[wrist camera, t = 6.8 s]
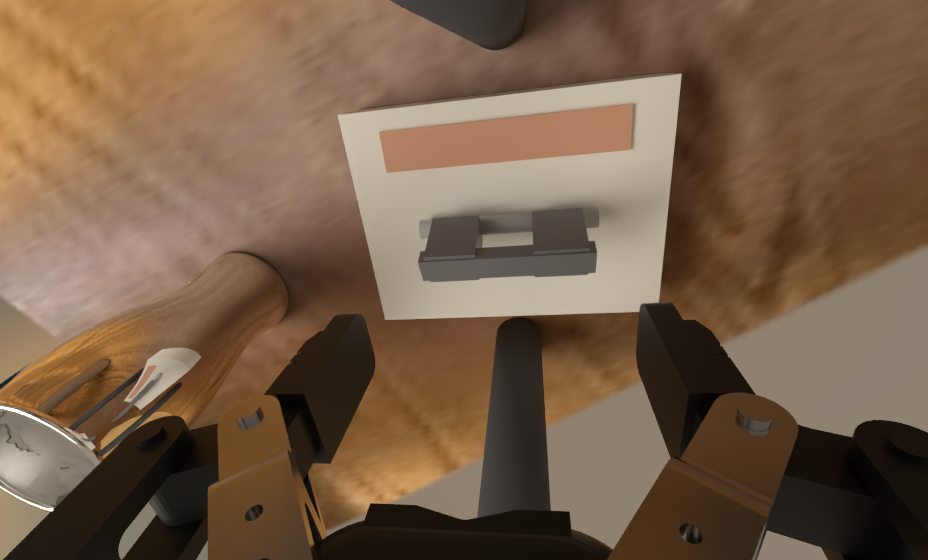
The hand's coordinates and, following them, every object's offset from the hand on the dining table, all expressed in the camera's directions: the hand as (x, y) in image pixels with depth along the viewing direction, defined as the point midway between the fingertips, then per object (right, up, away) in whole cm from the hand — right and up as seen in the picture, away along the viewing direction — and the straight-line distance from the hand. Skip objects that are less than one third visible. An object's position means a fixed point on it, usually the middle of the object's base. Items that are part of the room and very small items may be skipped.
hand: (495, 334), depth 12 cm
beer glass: (-16, +1, +18) cm, 24 cm away
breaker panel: (+2, +6, +13) cm, 14 cm away
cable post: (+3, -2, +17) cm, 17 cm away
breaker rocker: (+1, +4, +9) cm, 10 cm away
